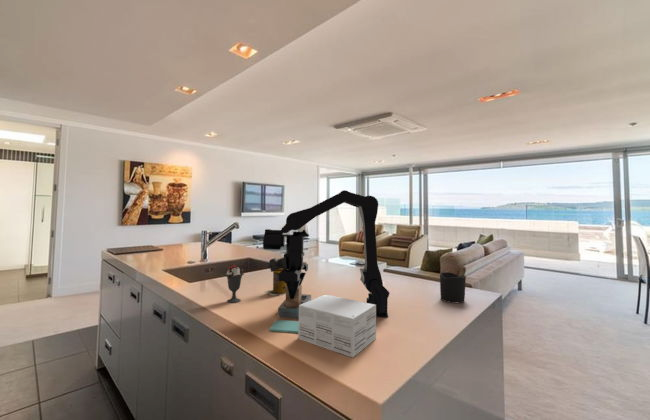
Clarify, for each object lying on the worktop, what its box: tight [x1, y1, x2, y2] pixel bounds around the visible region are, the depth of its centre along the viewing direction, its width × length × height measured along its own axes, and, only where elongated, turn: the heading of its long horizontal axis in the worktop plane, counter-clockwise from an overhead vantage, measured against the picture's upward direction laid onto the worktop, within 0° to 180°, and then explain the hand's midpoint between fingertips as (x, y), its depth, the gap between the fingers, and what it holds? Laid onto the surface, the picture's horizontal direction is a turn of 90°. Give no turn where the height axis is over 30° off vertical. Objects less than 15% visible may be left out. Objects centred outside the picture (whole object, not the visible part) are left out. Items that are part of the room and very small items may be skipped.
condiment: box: [265, 268, 287, 297], centre depth 116 cm, size 7×8×12 cm
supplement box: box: [297, 294, 377, 359], centre depth 74 cm, size 17×13×9 cm
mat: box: [268, 319, 299, 334], centre depth 81 cm, size 9×7×1 cm
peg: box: [285, 284, 303, 307], centre depth 92 cm, size 4×4×8 cm
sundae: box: [224, 260, 245, 304], centre depth 104 cm, size 7×7×15 cm
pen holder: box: [439, 271, 467, 303], centre depth 110 cm, size 9×9×10 cm
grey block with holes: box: [277, 293, 312, 320], centre depth 96 cm, size 8×16×3 cm, turn 173°
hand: (293, 296), depth 92 cm, fingers closed on peg, 4 cm apart
